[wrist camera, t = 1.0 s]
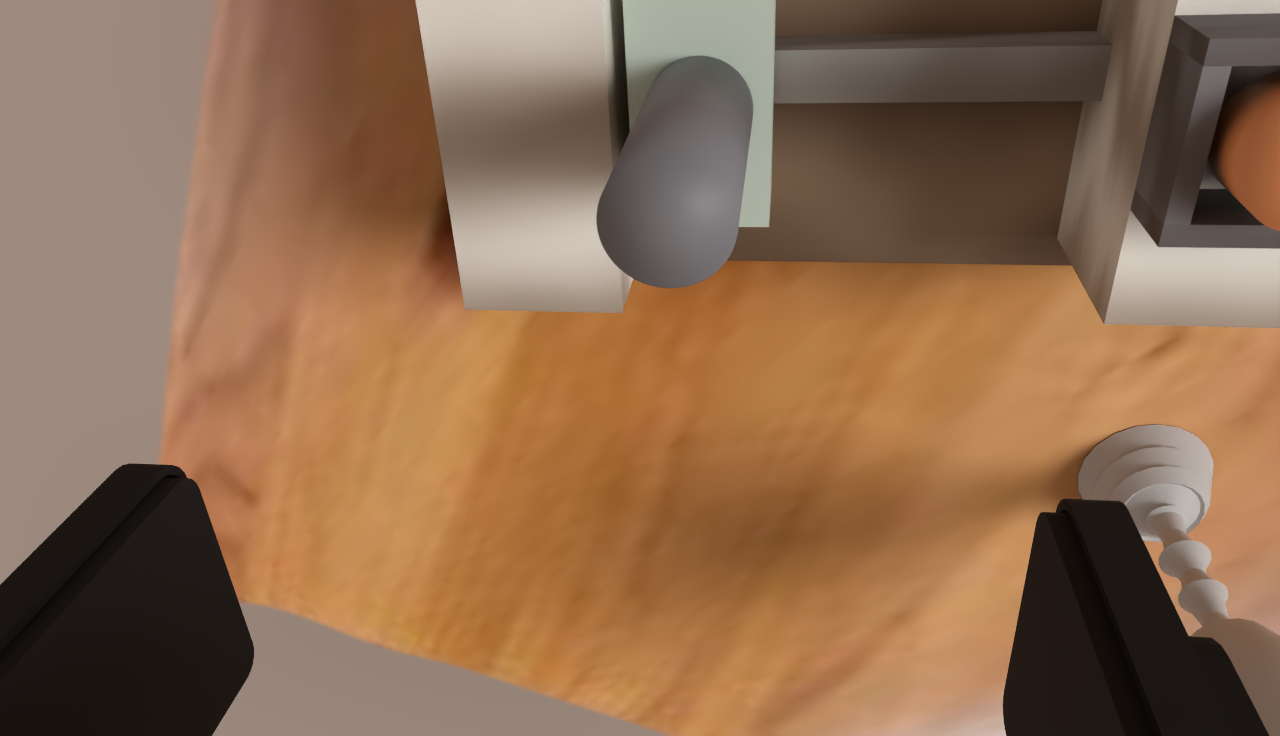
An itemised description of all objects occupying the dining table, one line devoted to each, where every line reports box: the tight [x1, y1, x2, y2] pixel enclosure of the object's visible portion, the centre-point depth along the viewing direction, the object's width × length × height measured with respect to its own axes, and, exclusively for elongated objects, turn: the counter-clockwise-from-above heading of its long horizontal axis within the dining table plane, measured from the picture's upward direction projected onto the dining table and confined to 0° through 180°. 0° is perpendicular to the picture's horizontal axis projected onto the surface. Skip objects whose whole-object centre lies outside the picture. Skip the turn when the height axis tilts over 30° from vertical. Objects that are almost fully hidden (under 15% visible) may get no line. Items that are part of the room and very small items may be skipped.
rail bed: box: [415, 0, 1280, 328], centre depth 28 cm, size 14×24×10 cm, turn 93°
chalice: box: [1078, 424, 1280, 736], centre depth 32 cm, size 7×7×18 cm
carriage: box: [596, 0, 776, 288], centre depth 25 cm, size 7×4×11 cm, turn 2°
